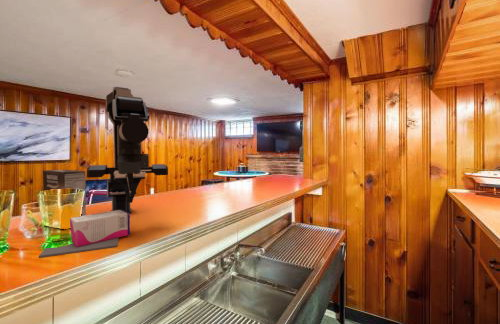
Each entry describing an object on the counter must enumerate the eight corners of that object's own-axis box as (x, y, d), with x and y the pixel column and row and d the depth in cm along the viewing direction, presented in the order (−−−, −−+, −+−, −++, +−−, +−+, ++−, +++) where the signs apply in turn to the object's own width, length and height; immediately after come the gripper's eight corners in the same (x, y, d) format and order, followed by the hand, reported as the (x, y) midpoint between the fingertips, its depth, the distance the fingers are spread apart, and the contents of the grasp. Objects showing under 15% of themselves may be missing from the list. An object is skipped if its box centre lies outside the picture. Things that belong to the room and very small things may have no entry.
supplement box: (121, 209, 66) (69, 217, 57) (130, 212, 62) (76, 221, 53) (121, 230, 66) (69, 241, 57) (130, 235, 62) (76, 248, 53)
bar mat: (60, 233, 64) (60, 232, 64) (120, 226, 70) (120, 225, 70) (38, 257, 49) (38, 255, 49) (117, 246, 55) (117, 245, 55)
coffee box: (43, 226, 69) (41, 170, 69) (67, 220, 75) (65, 169, 75) (63, 230, 66) (62, 171, 65) (87, 224, 72) (86, 170, 71)
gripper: (81, 142, 53) (83, 212, 54) (170, 144, 61) (170, 205, 62) (90, 143, 63) (91, 203, 64) (165, 145, 71) (165, 197, 72)
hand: (130, 202), depth 65 cm, fingers closed
